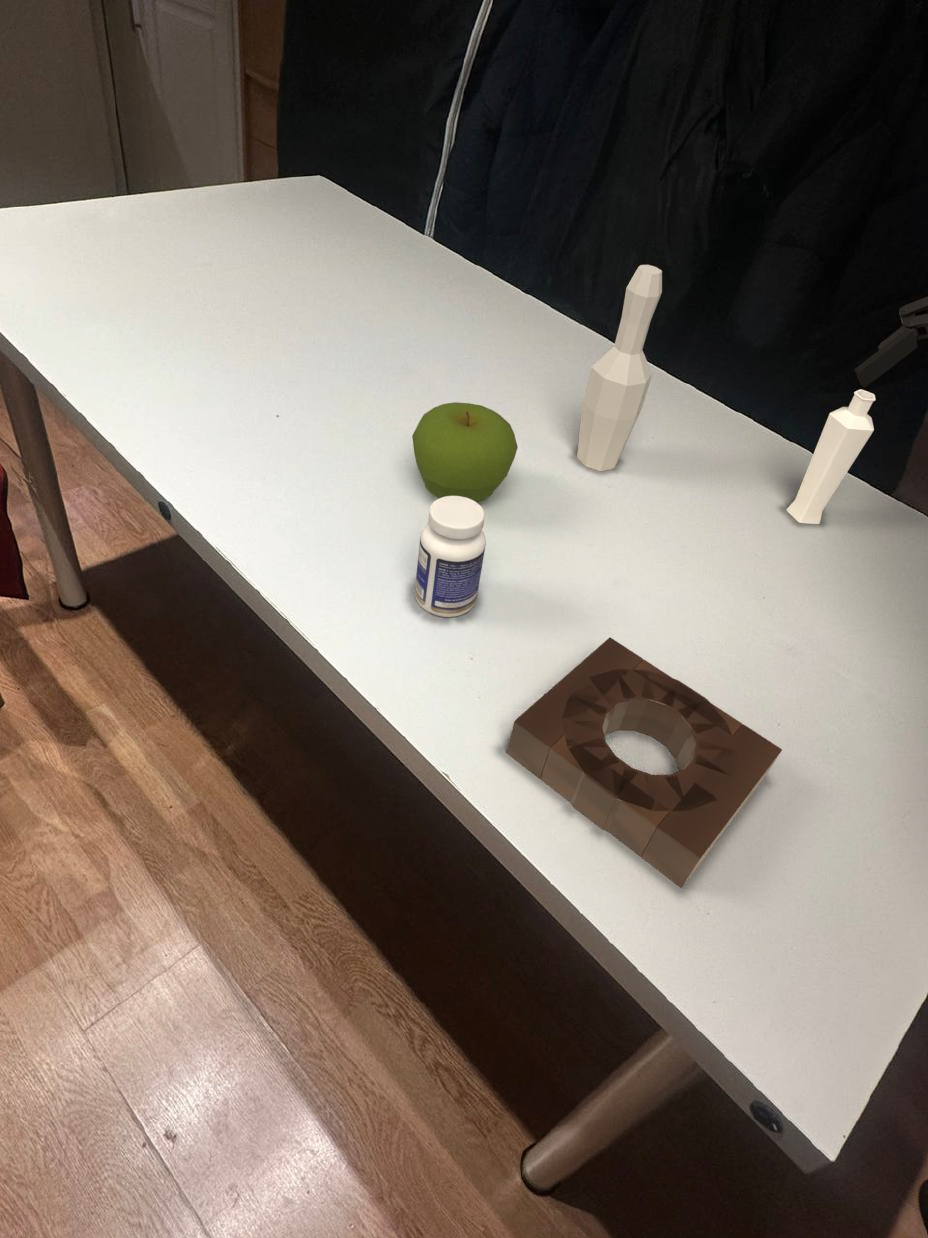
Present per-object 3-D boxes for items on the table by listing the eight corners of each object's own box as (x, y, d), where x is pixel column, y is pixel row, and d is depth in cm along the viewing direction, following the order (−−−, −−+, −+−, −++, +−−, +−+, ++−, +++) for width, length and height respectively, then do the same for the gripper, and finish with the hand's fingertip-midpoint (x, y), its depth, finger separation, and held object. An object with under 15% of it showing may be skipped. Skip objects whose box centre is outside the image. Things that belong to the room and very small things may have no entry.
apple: (440, 536, 82) (452, 451, 75) (388, 479, 88) (394, 395, 81) (526, 508, 87) (544, 426, 80) (471, 456, 93) (484, 376, 86)
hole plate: (763, 778, 65) (783, 748, 62) (680, 890, 57) (698, 861, 54) (599, 667, 72) (610, 635, 69) (504, 753, 64) (512, 721, 61)
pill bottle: (487, 594, 77) (503, 508, 70) (455, 628, 73) (469, 541, 66) (434, 569, 78) (445, 482, 71) (401, 601, 75) (410, 513, 68)
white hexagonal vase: (810, 532, 90) (874, 411, 80) (778, 511, 92) (836, 391, 82) (833, 519, 93) (898, 400, 82) (800, 498, 95) (859, 380, 84)
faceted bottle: (559, 455, 95) (604, 263, 80) (592, 438, 99) (642, 251, 84) (602, 481, 92) (657, 288, 77) (635, 463, 96) (694, 274, 81)
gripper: (1210, 350, 74) (993, 500, 80) (1005, 242, 91) (836, 373, 96) (1216, 293, 69) (982, 459, 75) (997, 189, 85) (819, 332, 91)
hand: (900, 411), depth 86 cm, fingers open, 13 cm apart
